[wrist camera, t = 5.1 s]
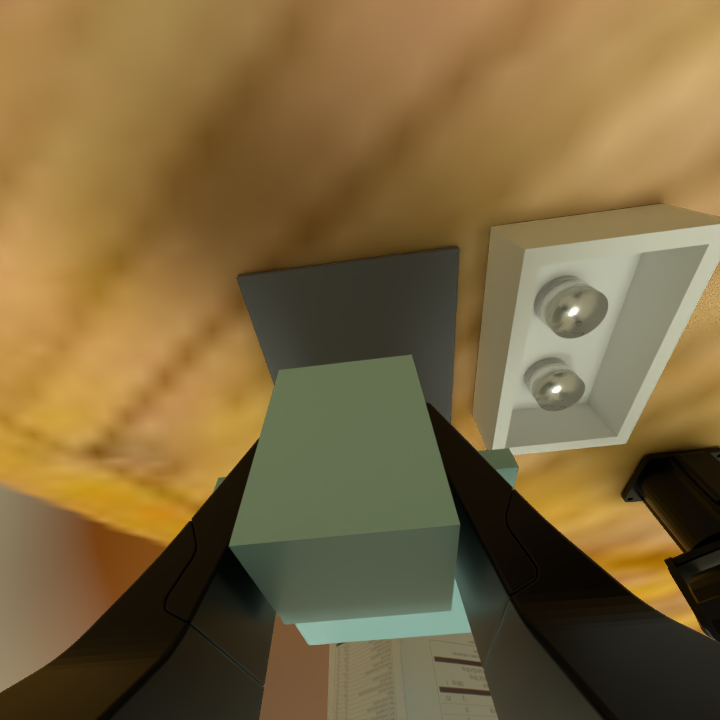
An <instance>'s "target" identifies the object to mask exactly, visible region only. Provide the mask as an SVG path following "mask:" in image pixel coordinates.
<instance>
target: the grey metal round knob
mask: <svg viewBox="0 0 720 720" xmlns="http://www.w3.org/2000/svg"><path fill="white" fill-rule="evenodd" d="M534 311H535V313H536V315H537V316H538V317H539V318H540V319H541V320H542V321H543V322H544V323H545V324H546V325H547V326H548V327H549V328H550V329H551V330H552V331H553V332H554V333H555V334H556V335H558V336H559V337H562V338H567V339H571V338H577V337H581V336H583V335H586V334H588V333H589V332H591V331H592V330H594V329H595V328H596V327H597V326H598V325H599V324H600V323H601V322H602V321H603V319H604V318H605V316H606V314H607V311H608V300H607V298H606V296H605V295H604V294H603V293H601V292H600V291H598V290H596V289H595V288H593V287H592V286H590V285H589V284H587V283H586V282H584V281H582V280H581V279H579V278H578V277H575V276H569V275H568V276H561V277H558V278H555V279H553V280H551V281H550V282H548V283H547V284H546V285H545V286H544V287H542V289H541V290H540V291H539V292H538V294H537V296H536V298H535V301H534Z"/></svg>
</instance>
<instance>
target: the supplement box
mask: <svg viewBox="0 0 720 720" xmlns="http://www.w3.org/2000/svg"><path fill="white" fill-rule="evenodd" d="M329 657H330V658H329V687H328V720H498V717H497V713H496V710H495V707H494V704H493V700H492V697H491V694H490V691H489V687H488V684H487V681H486V678H485V674H484V669H483V667H482V664H481V661H480V658H479V655H478V651H477V648H476V645H475V642H474V638H473V635H472V632H470V633H457V634H444V635H432V636H419V637H406V638H394V639H381V640H368V641H355V642H343V643H330V656H329Z"/></svg>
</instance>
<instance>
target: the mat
mask: <svg viewBox="0 0 720 720" xmlns="http://www.w3.org/2000/svg"><path fill="white" fill-rule="evenodd" d="M458 268H459V248H458V247H449V248H441V249H434V250H426V251H419V252H411V253H404V254H396V255H388V256H381V257H373V258H366V259H358V260H351V261H343V262H335V263H328V264H320V265H313V266H305V267H298V268H290V269H282V270H275V271H267V272H260V273H252V274H245V275H238V277H237V281H238V283H239V286H240V289H241V292H242V295H243V298H244V300H245V303H246V306H247V309H248V312H249V315H250V317H251V320H252V323H253V326H254V329H255V332H256V334H257V337H258V340H259V343H260V346H261V349H262V351H263V354H264V357H265V360H266V363H267V366H268V368H269V371H270V374H271V377H272V380H273V383H274V385H275V382H276V379H277V375H278V372H279V370H283V369H292V368H301V367H309V366H318V365H326V364H335V363H343V362H352V361H361V360H369V359H378V358H386V357H395V356H404V355H412V357H413V360H414V364H415V367H416V371H417V375H418V378H419V382H420V385H421V389H422V392H423V396H424V399H425V402H429V403H431V404H432V405H433V406H434V407H435V408H436V409H437V410H438V411H439V413H440V414H441V415H442V416H443V417H444V418H445V419H446V420H447V421H448V422H449V423H450V424H451V406H452V386H453V367H454V347H455V327H456V307H457V287H458Z"/></svg>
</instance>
